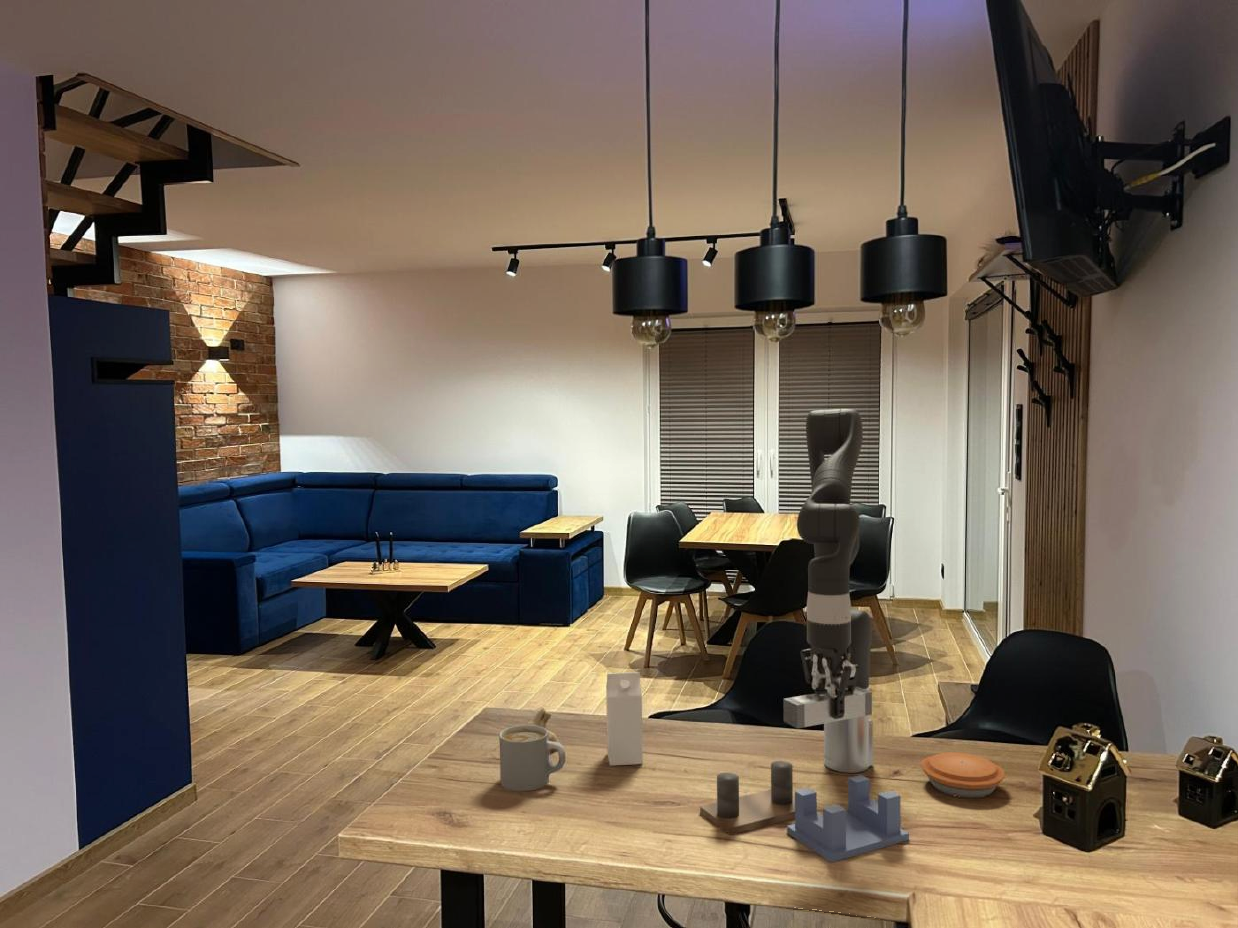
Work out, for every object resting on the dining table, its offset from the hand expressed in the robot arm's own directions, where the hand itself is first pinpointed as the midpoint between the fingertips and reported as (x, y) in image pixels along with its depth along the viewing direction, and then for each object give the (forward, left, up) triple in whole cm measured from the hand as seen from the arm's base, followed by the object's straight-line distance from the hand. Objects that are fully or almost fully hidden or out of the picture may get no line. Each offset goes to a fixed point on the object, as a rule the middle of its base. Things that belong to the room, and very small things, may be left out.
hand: (829, 713), depth 154 cm
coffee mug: (+39, -45, -22) cm, 64 cm away
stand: (+7, -12, -21) cm, 26 cm away
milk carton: (+17, -47, -22) cm, 55 cm away
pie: (-36, -3, -22) cm, 42 cm away
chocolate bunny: (+31, -60, -22) cm, 71 cm away
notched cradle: (-2, +3, -21) cm, 22 cm away
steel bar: (0, 0, -1) cm, 1 cm away
